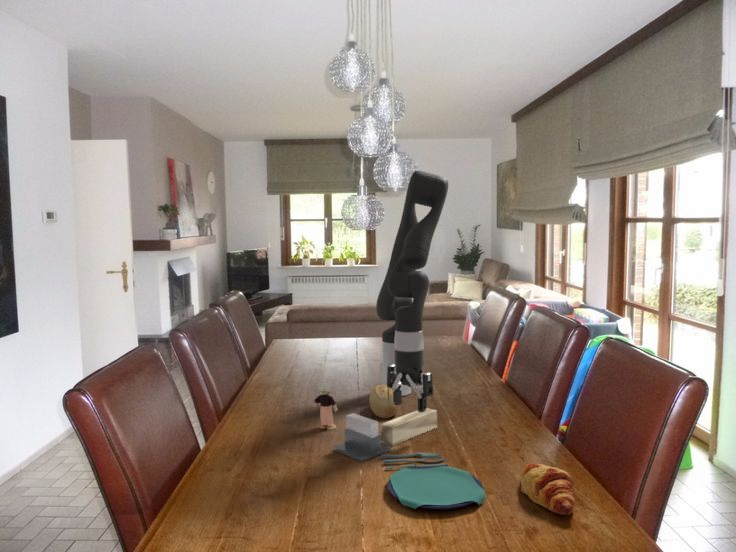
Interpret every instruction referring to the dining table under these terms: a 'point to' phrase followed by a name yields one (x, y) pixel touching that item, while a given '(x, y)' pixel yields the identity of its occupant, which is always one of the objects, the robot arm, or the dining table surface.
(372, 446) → the ridge stand
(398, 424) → the birch bar
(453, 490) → the cutlery set
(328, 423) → the grandmother figurine
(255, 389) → the dining table surface
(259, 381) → the dining table surface
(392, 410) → the bread roll
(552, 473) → the croissant
